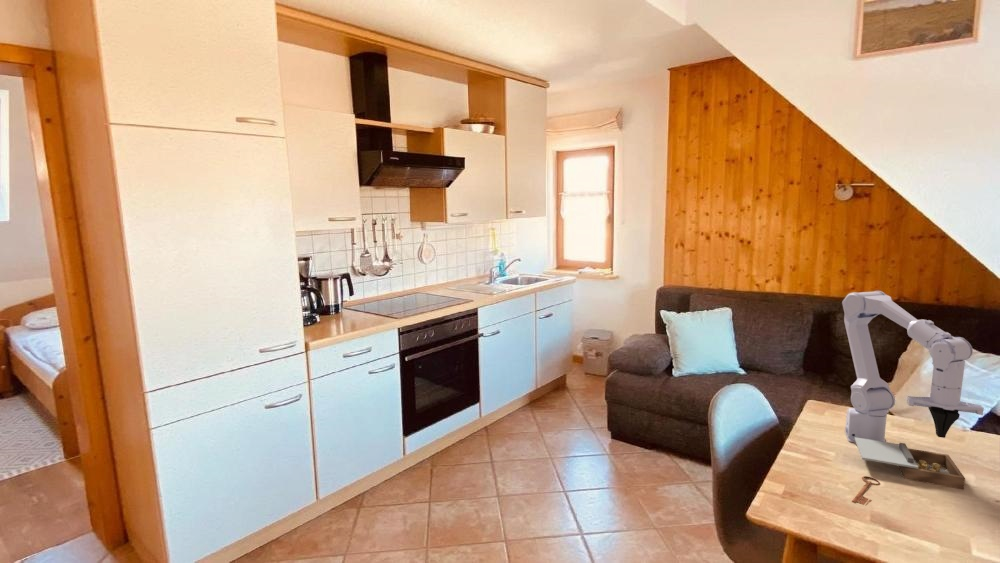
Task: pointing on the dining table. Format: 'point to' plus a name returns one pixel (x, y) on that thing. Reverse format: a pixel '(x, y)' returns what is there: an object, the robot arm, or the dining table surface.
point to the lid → (885, 452)
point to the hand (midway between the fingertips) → (940, 435)
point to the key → (866, 486)
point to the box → (938, 478)
